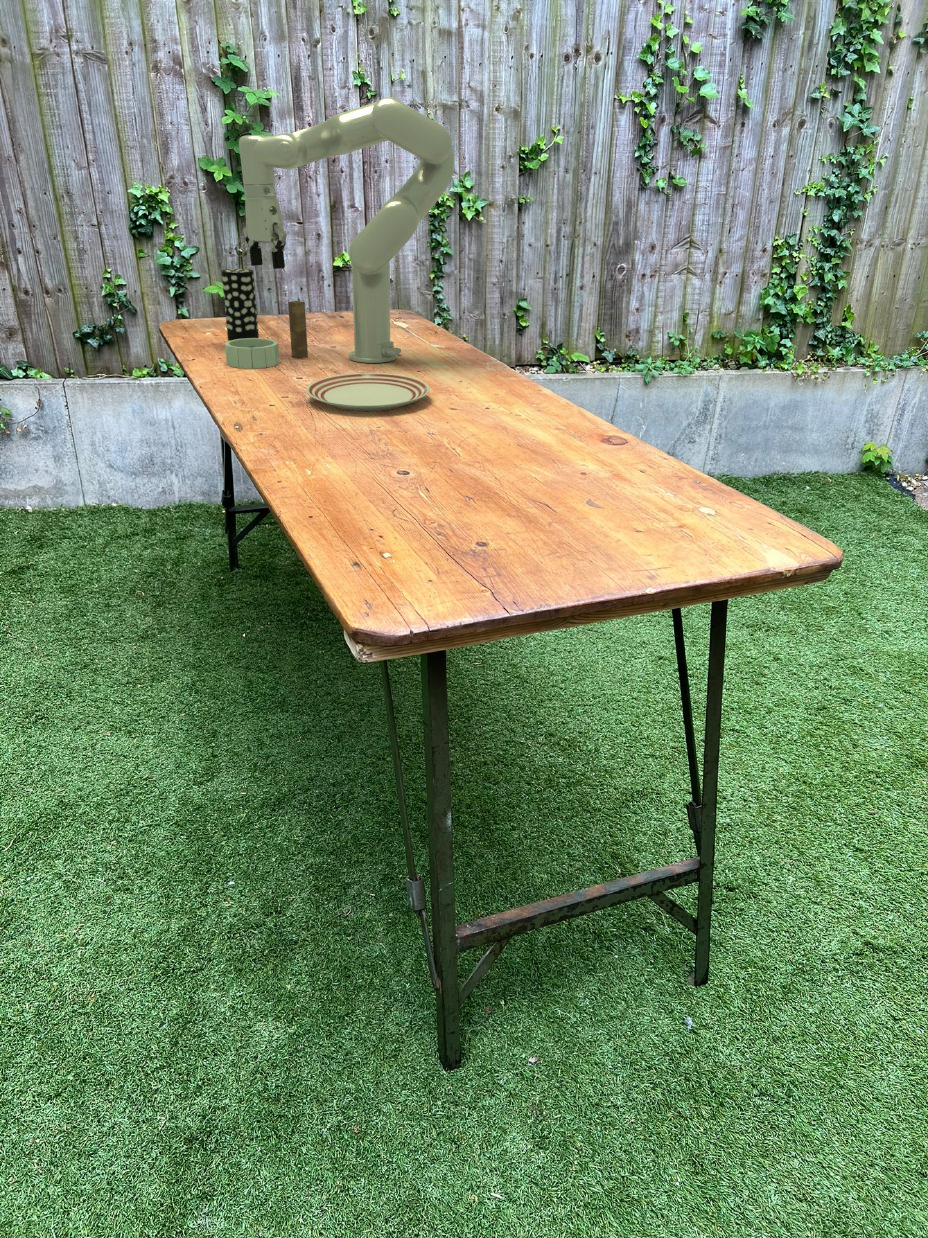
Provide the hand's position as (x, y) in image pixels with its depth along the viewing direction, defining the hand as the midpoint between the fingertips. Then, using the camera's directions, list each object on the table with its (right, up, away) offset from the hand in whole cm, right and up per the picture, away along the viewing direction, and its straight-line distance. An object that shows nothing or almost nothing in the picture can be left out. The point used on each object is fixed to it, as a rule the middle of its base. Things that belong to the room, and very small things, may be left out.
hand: (267, 266), depth 230 cm
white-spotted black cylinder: (-11, -14, +21) cm, 28 cm away
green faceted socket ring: (-5, -23, +4) cm, 24 cm away
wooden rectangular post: (+6, -19, +12) cm, 24 cm away
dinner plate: (+28, -41, -26) cm, 56 cm away
